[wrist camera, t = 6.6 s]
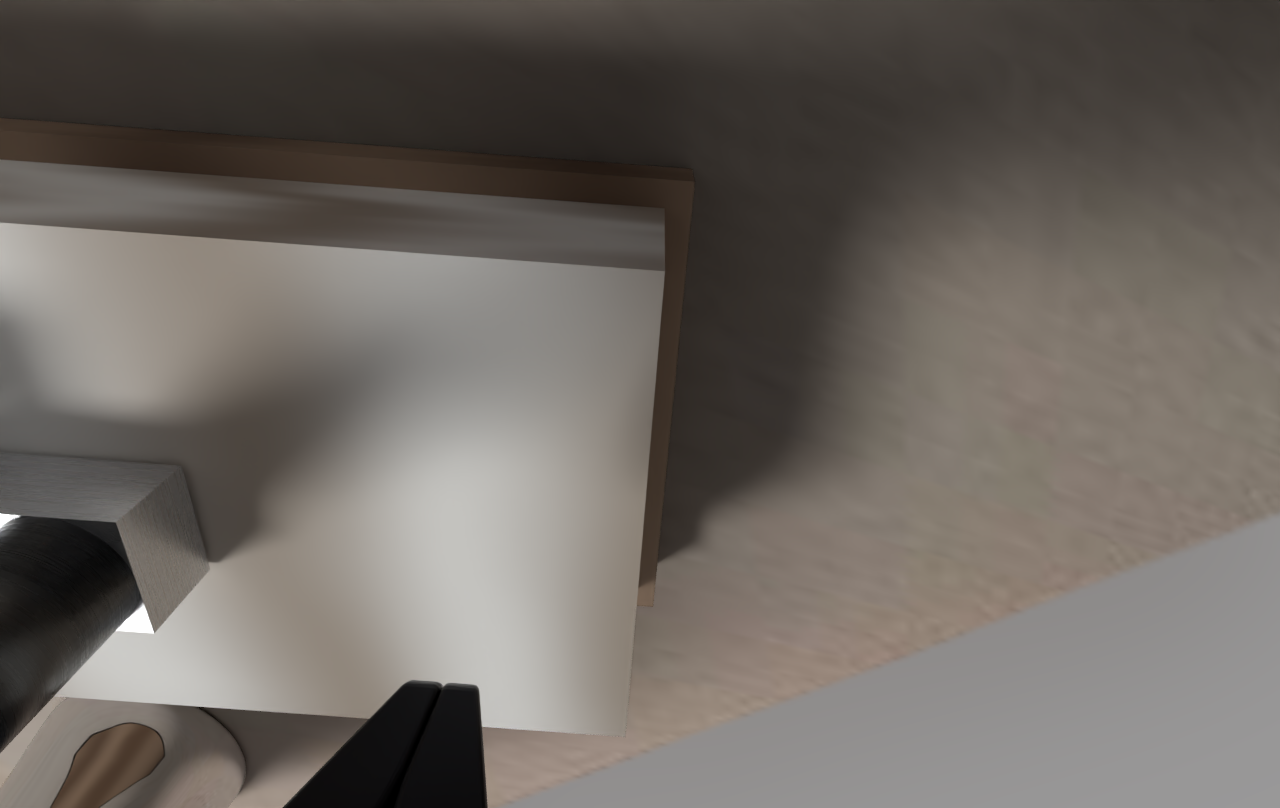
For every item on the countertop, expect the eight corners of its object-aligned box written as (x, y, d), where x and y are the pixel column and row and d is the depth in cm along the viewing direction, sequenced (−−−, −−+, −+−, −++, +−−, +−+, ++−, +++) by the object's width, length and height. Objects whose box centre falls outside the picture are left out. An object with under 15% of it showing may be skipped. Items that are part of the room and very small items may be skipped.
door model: (-147, 508, 18) (-672, 805, 11) (-379, 90, 14) (-1536, 133, 6) (653, 565, 18) (647, 899, 11) (691, 169, 14) (723, 299, 6)
